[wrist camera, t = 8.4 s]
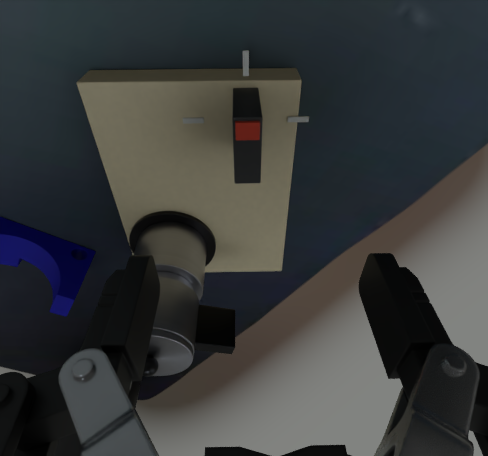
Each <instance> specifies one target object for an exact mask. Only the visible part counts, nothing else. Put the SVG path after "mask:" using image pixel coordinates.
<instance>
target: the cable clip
mask: <svg viewBox="0 0 488 456" xmlns="http://www.w3.org/2000/svg"><path fill="white" fill-rule="evenodd" d="M95 252H96V251H93V250H91V249H88V248H85V247H82V246H80V245H77V244H74V243H71V242H69V241H66V240H63V239H60V238H58V237H55V236H52V235H49V234H47V233H44V232H41V231H38V230H36V229H33V228H30V227H27V226H25V225H22V224H19V223H16V222H14V221H11V220H8V219H5V218H3V217H0V264H5V265H10V266H15V267H18V265H19V264H20V262H21V260H22V259H23V260H25V261H27V262H29V263H31V264H33V265H35V266H36V267H37V268H39V269H40V270H41V271H42V272H43V273H44V274H45V275H46V277H47V278H48V280H49V282H50V284H51V286H52V290H53V303H52V306H51V309H50V311H49V312H52V313H55V314H59V315H62V316H67V314H68V312H69V310H70V308H71V306H72V304H73V302H74V300H75V298H76V296H77V293H78V291H79V289H80V287H81V284H82V282H83V280H84V277H85V275H86V273H87V271H88V268H89V266H90V264H91V261H92V259H93V257H94V255H95Z"/></svg>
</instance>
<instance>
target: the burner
mask: <svg viewBox="0 0 488 456" xmlns="http://www.w3.org/2000/svg"><path fill="white" fill-rule="evenodd" d="M159 222H178V223H182V224H185V225H188V226H190V227H192V228H193V229H195V230H196V231H198V232H199V233H200V234H201V235H202V237H203V238H204V240H205V242H206V246H207V253H206V264H205V266H207V265H208V264H209V263H210V262H211V260H212V259H213V257H214V255H215V251H216V241H215V237H214V235H213V233H212V231H211V230H210V229H209V227H208V226H207V225H206V224H204V223H203V222H202V221H200V220H199V219H197V218H195V217H193V216H191V215H188V214H185V213H182V212H176V211H160V212H154V213H151V214H148V215H146V216H144V217H143V218H141V219H140V220H138V221H137V222H136V223H135V225H134V226H133V228H132V230H131V233H130V236H129V244H130V248H131V250H132V252H133V254H134V252H135V249H136V246H137V242H138V239H139V237H140V235H141V233H142V232H143V231H144V230H145V229H146V228H147V227H149V226H150V225H153V224H155V223H159Z"/></svg>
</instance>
